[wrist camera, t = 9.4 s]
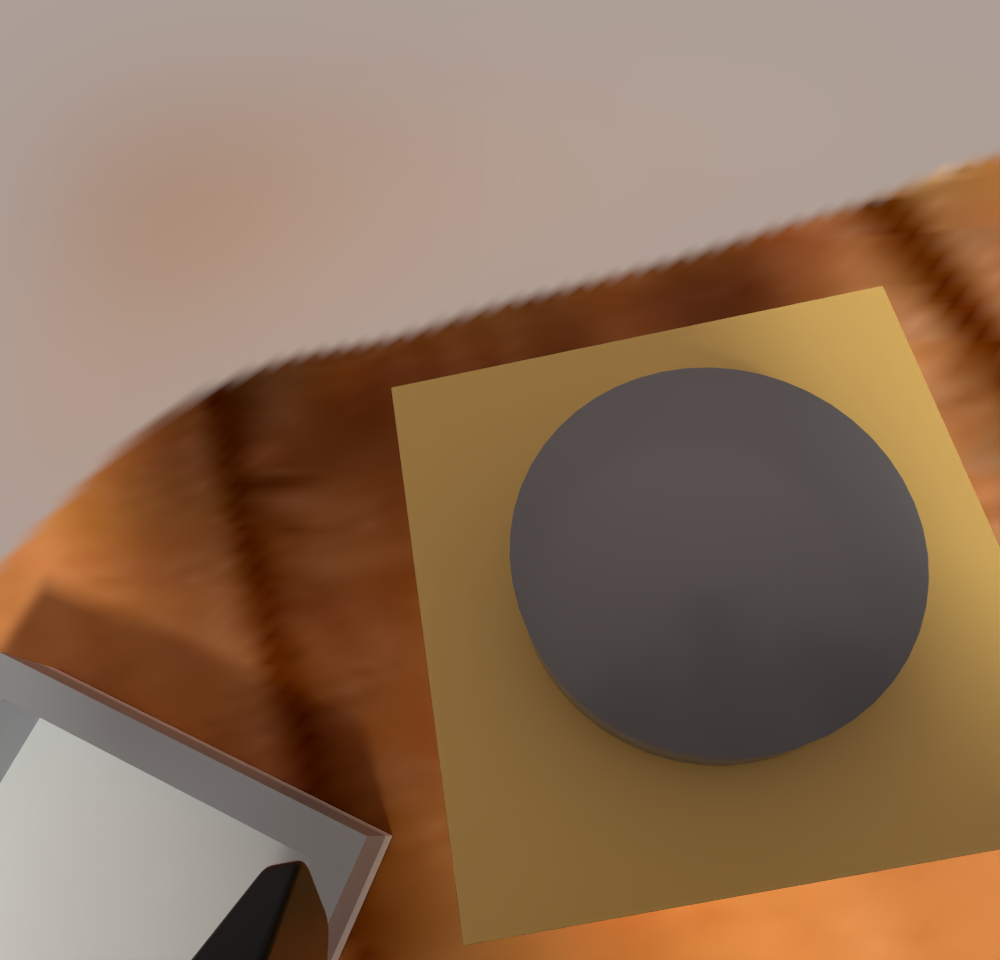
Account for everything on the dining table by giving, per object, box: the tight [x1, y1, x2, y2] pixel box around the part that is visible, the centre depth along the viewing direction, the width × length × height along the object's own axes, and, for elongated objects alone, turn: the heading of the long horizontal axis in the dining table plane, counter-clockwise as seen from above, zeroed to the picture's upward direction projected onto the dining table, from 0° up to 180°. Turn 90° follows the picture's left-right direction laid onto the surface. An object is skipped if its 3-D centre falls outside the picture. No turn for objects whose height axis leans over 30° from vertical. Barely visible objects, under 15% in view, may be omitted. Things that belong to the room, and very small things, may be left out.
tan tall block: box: [391, 286, 1000, 945], centre depth 12 cm, size 5×5×13 cm
